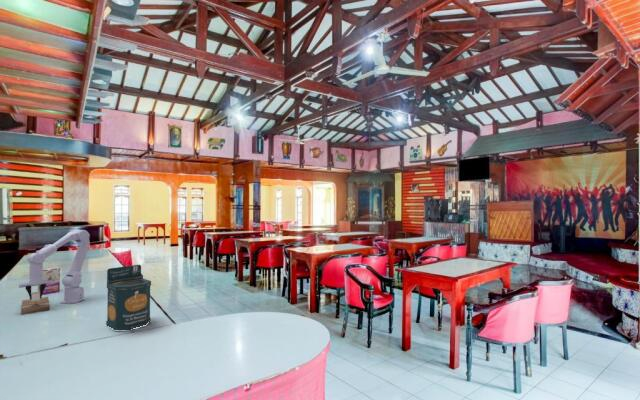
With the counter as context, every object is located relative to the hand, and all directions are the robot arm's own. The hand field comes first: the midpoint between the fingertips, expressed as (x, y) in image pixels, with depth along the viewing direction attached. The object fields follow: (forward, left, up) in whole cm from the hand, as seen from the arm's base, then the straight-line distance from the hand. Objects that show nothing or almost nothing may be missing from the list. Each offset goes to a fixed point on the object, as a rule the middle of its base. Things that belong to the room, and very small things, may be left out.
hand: (35, 298), depth 189 cm
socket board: (+4, -5, -6) cm, 9 cm away
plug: (0, 0, -3) cm, 3 cm away
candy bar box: (+22, -37, -7) cm, 43 cm away
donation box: (-67, +24, -7) cm, 72 cm away
